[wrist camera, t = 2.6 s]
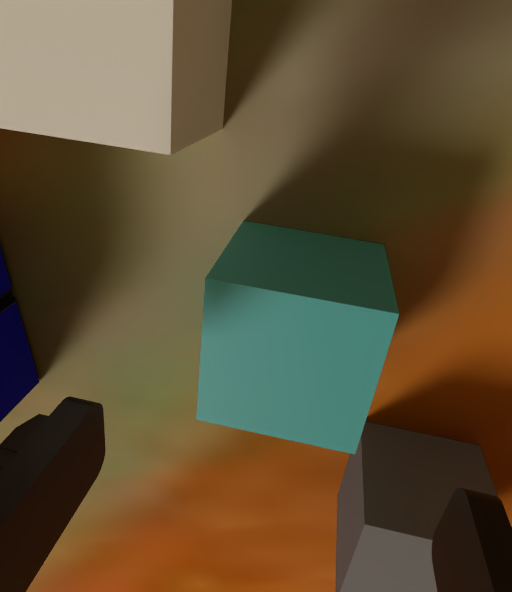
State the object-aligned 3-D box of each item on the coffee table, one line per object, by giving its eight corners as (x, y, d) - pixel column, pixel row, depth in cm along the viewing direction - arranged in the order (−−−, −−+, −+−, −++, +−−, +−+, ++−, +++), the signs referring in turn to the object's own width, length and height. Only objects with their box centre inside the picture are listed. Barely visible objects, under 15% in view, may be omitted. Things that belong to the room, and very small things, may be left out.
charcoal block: (360, 419, 19) (364, 524, 15) (479, 444, 18) (520, 561, 14) (337, 494, 21) (335, 604, 17) (442, 518, 21) (467, 638, 17)
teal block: (244, 219, 16) (205, 278, 11) (383, 243, 15) (399, 314, 11) (231, 335, 18) (196, 419, 14) (352, 358, 18) (355, 454, 13)
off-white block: (68, -80, 13) (-80, -158, 8) (237, -63, 12) (175, -137, 8) (81, 107, 15) (-27, 124, 11) (223, 128, 14) (170, 155, 10)
